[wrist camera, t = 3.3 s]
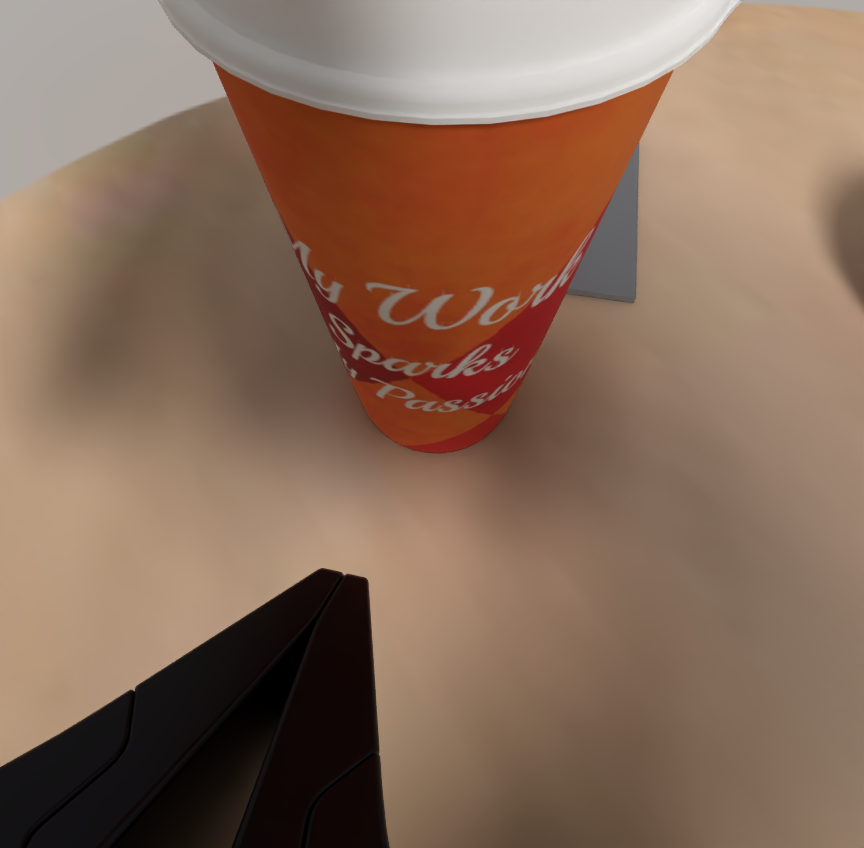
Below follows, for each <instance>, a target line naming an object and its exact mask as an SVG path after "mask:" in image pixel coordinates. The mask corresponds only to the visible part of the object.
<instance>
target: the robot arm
mask: <svg viewBox="0 0 864 848" xmlns="http://www.w3.org/2000/svg"><path fill="white" fill-rule="evenodd" d="M0 848H390V847H389V841H388V835H387V828H386V820H385V810H384V800H383V790H382V778H381V762H380V756H379V735H378V720H377V705H376V690H375V675H374V659H373V644H372V629H371V614H370V598H369V583H368V580H367V578H365V577H360V576H356V575H352V574H346V575H343V573H342V572H339V571H334V570H330V569H326V568H321V569H318V570H317V571H315V572H314V573H312V574H310V575H309V576H307V577H306V578H304V579H303V580H301V581H300V582H298V583H296V584H295V585H293V586H292V587H290V588H289V589H287V590H285V591H284V592H282V593H281V594H279V595H278V596H276V597H275V598H273V599H271V600H270V601H268V602H267V603H265V604H264V605H262V606H260V607H259V608H257V609H256V610H254V611H253V612H251V613H250V614H248V615H246V616H245V617H243V618H242V619H240V620H239V621H237V622H235V623H234V624H232V625H231V626H229V627H228V628H226V629H225V630H223V631H221V632H220V633H218V634H217V635H215V636H214V637H212V638H210V639H209V640H207V641H206V642H204V643H203V644H201V645H200V646H198V647H196V648H195V649H193V650H192V651H190V652H189V653H187V654H185V655H184V656H182V657H181V658H179V659H178V660H176V661H175V662H173V663H171V664H170V665H168V666H167V667H165V668H164V669H162V670H161V671H159V672H157V673H156V674H154V675H153V676H151V677H150V678H148V679H146V680H145V681H143V682H142V683H140V684H139V685H137V686H136V688H135V692H134V691H133V690H129V691H127V692H126V693H124V694H123V695H121V696H120V697H118V698H116V699H115V700H113V701H112V702H110V703H109V704H107V705H105V706H104V707H102V708H101V709H99V710H97V711H96V712H94V713H92V714H91V715H89V716H88V717H86V718H84V719H83V720H81V721H79V722H78V723H76V724H75V725H73V726H71V727H70V728H68V729H66V730H65V731H63V732H61V733H60V734H58V735H56V736H55V737H53V738H51V739H49V740H48V741H46V742H44V743H42V744H40V745H39V746H37V747H35V748H33V749H32V750H30V751H28V752H26V753H24V754H23V755H21V756H19V757H17V758H16V759H14V760H12V761H10V762H9V763H7V764H5V765H3V766H1V767H0Z"/></svg>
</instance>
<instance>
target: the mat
mask: <svg viewBox="0 0 864 848" xmlns="http://www.w3.org/2000/svg"><path fill="white" fill-rule="evenodd" d="M638 165H639V143H638V145H637V147H636V149H635V151H634V153H633V155H632V157H631V159H630V161H629V163H628V166H627V168H626V170H625V172H624V174H623V176H622V178H621V180H620V182H619V184H618V186H617V188H616V190H615V192H614V194H613V197H612V199H611V201H610V203H609V205H608V207H607V209H606V211H605V213H604V215H603V217H602V219H601V221H600V224H599V226H598V228H597V230H596V232H595V234H594V236H593V238H592V240H591V242H590V244H589V246H588V248H587V250H586V253H585V255H584V257H583V259H582V261H581V263H580V265H579V267H578V269H577V271H576V273H575V275H574V277H573V279H572V282H571V284H570V286H569V288H568V290H567V292H566V293H569V294H575V295H582V296H589V297H596V298H603V299H610V300H616V301H623V302H630V303H633V302H634V300H635V299H636V263H637V214H638Z"/></svg>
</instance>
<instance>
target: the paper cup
mask: <svg viewBox="0 0 864 848" xmlns="http://www.w3.org/2000/svg"><path fill="white" fill-rule="evenodd" d="M158 1H159V2H160V4H161V6H162V7H163V9H164V11H165V13H166V15H167V16H168V18H169V19H170V22H171V23H172V25H173V26H174V27H175V28H176V29H177V30H178V31H179V32H180V33H181V34H182V36H183V37H184V38H185V39H186V40H187V41H188V42H189V43H190V44H191V45H192V46H193V47H194V48H195V49H196V50H197V51H198V52H200V53H201V54H203V55H204V56H206V57H207V58H208V59H210V60H211V61H212V62H213V64H214V66H215V68H216V71H217V73H218V75H219V78H220V80H221V82H222V84H223V87H224V89H225V92H226V94H227V96H228V98H229V101H230V103H231V105H232V108H233V110H234V112H235V115H236V117H237V119H238V122H239V124H240V126H241V128H242V131H243V133H244V135H245V138H246V140H247V142H248V145H249V147H250V149H251V152H252V154H253V156H254V158H255V161H256V163H257V165H258V168H259V170H260V172H261V175H262V177H263V179H264V182H265V184H266V186H267V188H268V191H269V193H270V195H271V198H272V200H273V202H274V205H275V207H276V209H277V212H278V214H279V216H280V219H281V221H282V223H283V225H284V228H285V230H286V232H287V235H288V237H289V239H290V242H291V244H292V246H293V249H294V251H295V253H296V256H297V258H298V260H299V263H300V265H301V267H302V269H303V272H304V274H305V276H306V279H307V281H308V283H309V286H310V288H311V290H312V293H313V295H314V297H315V300H316V302H317V304H318V306H319V309H320V311H321V313H322V316H323V318H324V320H325V322H326V325H327V327H328V329H329V332H330V334H331V336H332V338H333V341H334V343H335V345H336V348H337V350H338V352H339V354H340V357H341V359H342V361H343V363H344V366H345V368H346V370H347V372H348V375H349V377H350V379H351V381H352V383H353V386H354V388H355V390H356V392H357V394H358V396H359V398H360V400H361V402H362V404H363V406H364V408H365V410H366V412H367V414H368V415H369V417H370V419H371V420H372V421H373V423H374V424H375V425H376V426H377V427H378V429H379V430H380V431H381V432H382V433H384V434H385V435H386V436H387V437H388V438H390V439H391V440H393V441H394V442H396V443H398V444H400V445H402V446H404V447H407V448H409V449H412V450H416V451H420V452H426V453H446V452H453V451H457V450H461V449H464V448H466V447H469V446H471V445H473V444H475V443H477V442H479V441H480V440H482V439H483V438H484V437H486V436H487V435H488V434H489V433H490V432H491V431H492V430H493V429H494V428H495V427H496V426H497V425H498V424H499V422H500V421H501V420H502V418H503V417H504V415H505V413H506V412H507V410H508V409H509V407H510V405H511V403H512V401H513V399H514V397H515V396H516V394H517V392H518V390H519V388H520V386H521V384H522V382H523V380H524V378H525V376H526V374H527V372H528V370H529V368H530V366H531V364H532V362H533V360H534V358H535V356H536V354H537V351H538V349H539V347H540V345H541V343H542V341H543V339H544V337H545V335H546V333H547V331H548V329H549V327H550V325H551V323H552V321H553V319H554V317H555V315H556V313H557V310H558V308H559V306H560V304H561V302H562V300H563V298H564V296H565V294H566V292H567V290H568V288H569V286H570V284H571V282H572V279H573V277H574V275H575V273H576V271H577V269H578V267H579V265H580V263H581V261H582V259H583V257H584V255H585V253H586V250H587V248H588V246H589V244H590V242H591V240H592V238H593V236H594V234H595V232H596V230H597V228H598V226H599V224H600V221H601V219H602V217H603V215H604V213H605V211H606V209H607V207H608V205H609V203H610V201H611V199H612V197H613V194H614V192H615V190H616V188H617V186H618V184H619V182H620V180H621V178H622V176H623V174H624V172H625V170H626V168H627V166H628V163H629V161H630V159H631V157H632V155H633V153H634V151H635V149H636V147H637V145H638V143H639V141H640V139H641V137H642V135H643V132H644V130H645V128H646V126H647V124H648V122H649V120H650V118H651V116H652V114H653V112H654V110H655V108H656V106H657V103H658V101H659V99H660V97H661V95H662V93H663V91H664V89H665V87H666V85H667V83H668V81H669V79H670V77H671V75H672V72H673V70H674V69H675V68H677V67H679V66H680V65H682V64H683V63H684V62H685V61H687V60H688V59H689V58H690V57H691V56H693V55H694V54H695V53H696V52H697V51H698V50H700V49H701V48H702V47H703V46H704V45H706V44H707V43H708V42H709V41H710V40H711V38H712V37H713V36H714V34H715V33H716V32H717V30H718V29H719V28H720V26H721V25H722V24H723V22H724V21H725V20H726V18H727V17H728V16H729V15H730V14H731V12H732V11H733V10H734V9H735V8H736V7H737V6H738V5H739V3H740V2H741V1H742V0H158Z"/></svg>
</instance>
